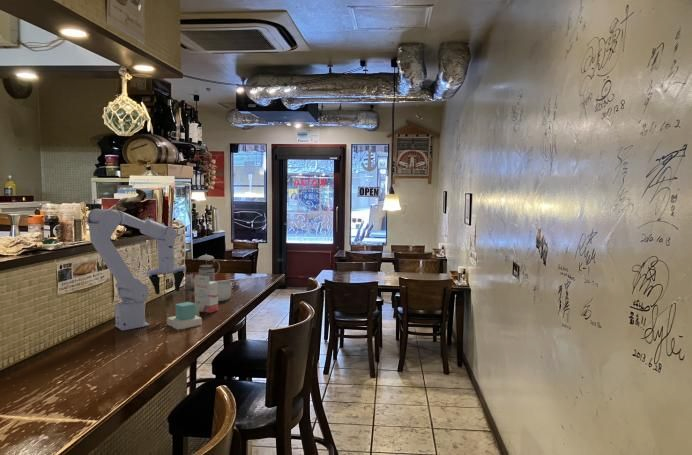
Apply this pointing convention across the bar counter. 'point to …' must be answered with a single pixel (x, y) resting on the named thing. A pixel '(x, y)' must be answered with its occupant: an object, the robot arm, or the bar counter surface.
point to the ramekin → (224, 290)
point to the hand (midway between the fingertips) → (167, 292)
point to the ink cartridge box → (206, 294)
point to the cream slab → (184, 322)
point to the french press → (207, 267)
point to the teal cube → (185, 310)
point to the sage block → (196, 309)
